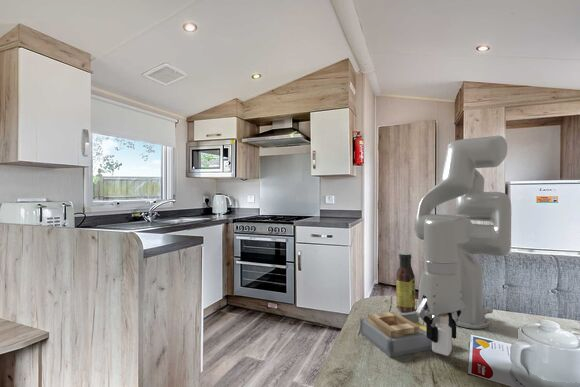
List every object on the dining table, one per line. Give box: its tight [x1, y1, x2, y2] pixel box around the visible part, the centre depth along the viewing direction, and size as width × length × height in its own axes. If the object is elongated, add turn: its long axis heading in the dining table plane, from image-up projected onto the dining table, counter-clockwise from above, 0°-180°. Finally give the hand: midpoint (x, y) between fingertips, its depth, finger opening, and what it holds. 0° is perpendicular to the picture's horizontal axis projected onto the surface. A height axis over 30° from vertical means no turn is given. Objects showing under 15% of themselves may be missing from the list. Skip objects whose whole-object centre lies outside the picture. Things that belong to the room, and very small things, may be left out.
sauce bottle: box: [395, 252, 416, 313], centre depth 108 cm, size 6×6×20 cm
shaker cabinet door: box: [367, 311, 419, 339], centre depth 85 cm, size 9×11×4 cm
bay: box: [359, 310, 432, 358], centre depth 86 cm, size 20×14×4 cm
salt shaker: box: [431, 313, 453, 357], centre depth 77 cm, size 4×4×10 cm
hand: (441, 337), depth 77 cm, fingers closed on salt shaker, 5 cm apart
